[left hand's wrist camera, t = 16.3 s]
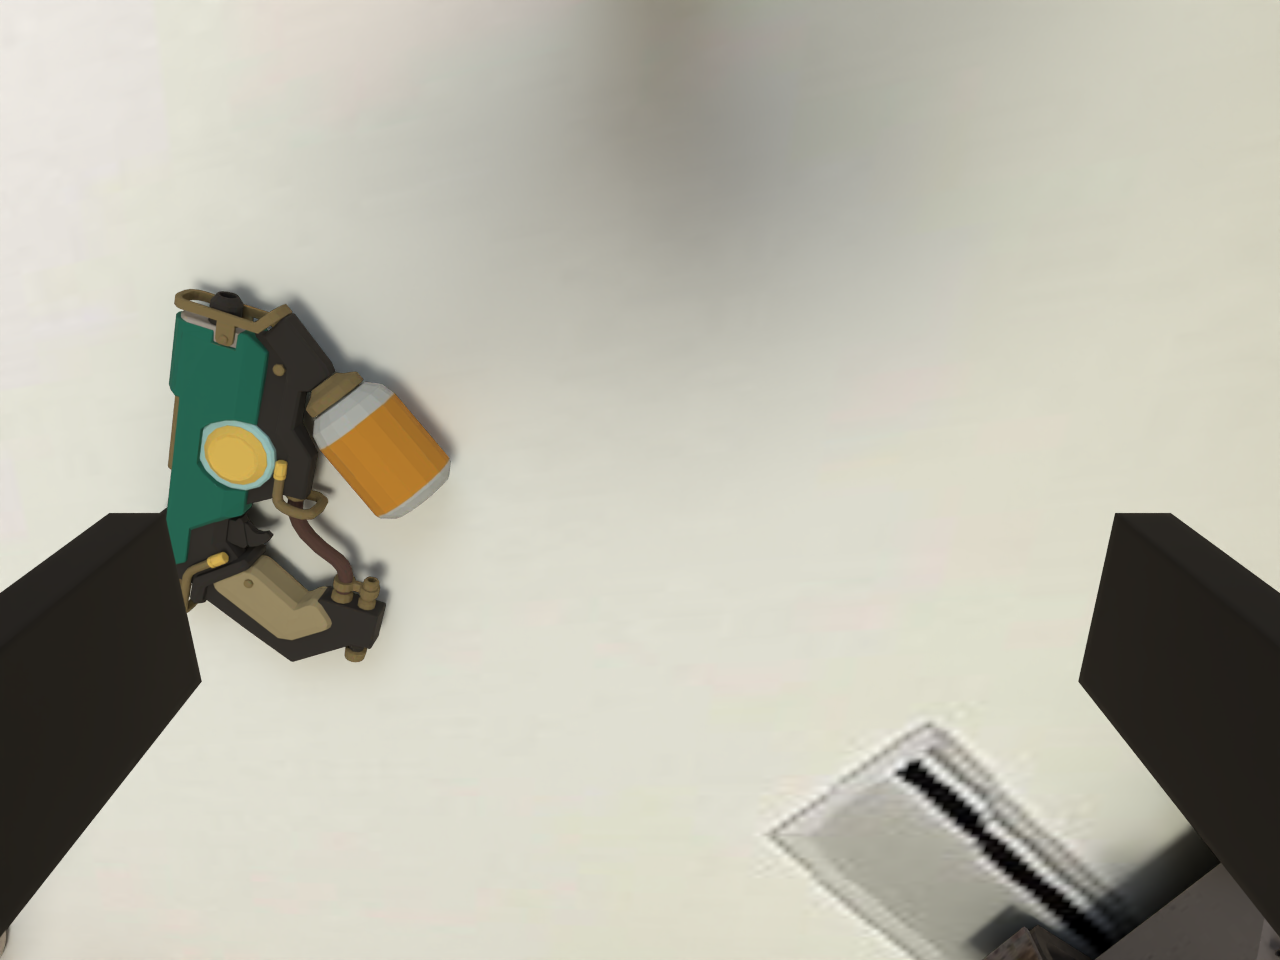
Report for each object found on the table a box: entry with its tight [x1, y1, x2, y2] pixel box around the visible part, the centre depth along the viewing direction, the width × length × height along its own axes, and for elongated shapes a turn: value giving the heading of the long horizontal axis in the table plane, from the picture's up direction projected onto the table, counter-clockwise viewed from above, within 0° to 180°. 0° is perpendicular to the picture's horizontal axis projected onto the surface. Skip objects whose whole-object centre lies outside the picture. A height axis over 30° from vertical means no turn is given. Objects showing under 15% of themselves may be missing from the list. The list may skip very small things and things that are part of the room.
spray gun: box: [160, 289, 450, 662], centre depth 42 cm, size 4×17×15 cm
